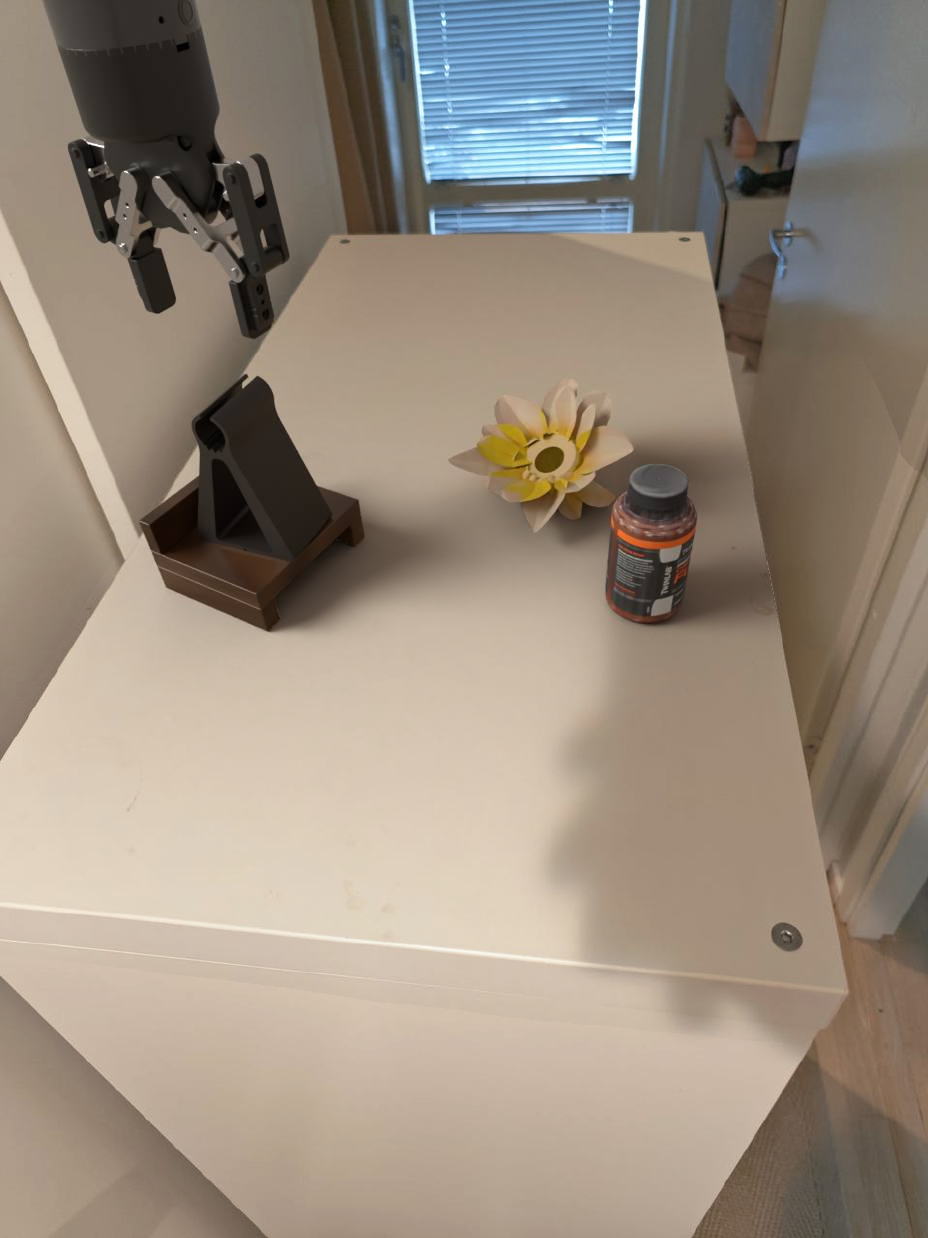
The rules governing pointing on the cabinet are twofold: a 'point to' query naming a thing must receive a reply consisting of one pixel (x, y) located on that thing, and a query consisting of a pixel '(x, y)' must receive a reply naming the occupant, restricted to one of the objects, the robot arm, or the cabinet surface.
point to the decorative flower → (548, 452)
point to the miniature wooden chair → (235, 557)
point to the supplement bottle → (650, 545)
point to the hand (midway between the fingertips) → (209, 320)
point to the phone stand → (254, 477)
